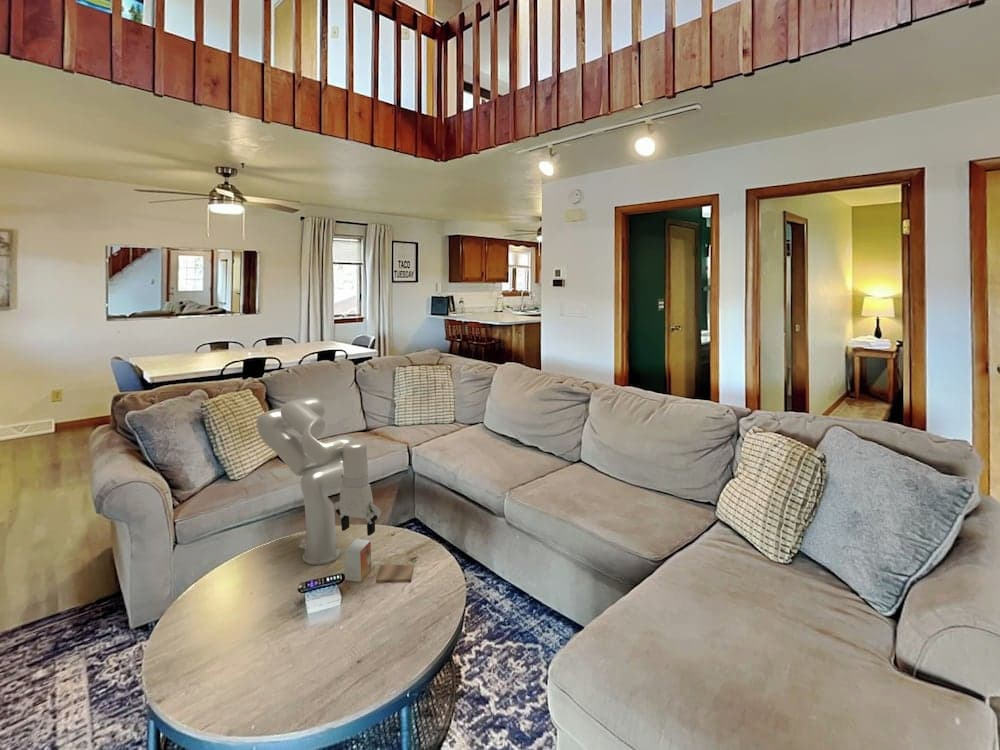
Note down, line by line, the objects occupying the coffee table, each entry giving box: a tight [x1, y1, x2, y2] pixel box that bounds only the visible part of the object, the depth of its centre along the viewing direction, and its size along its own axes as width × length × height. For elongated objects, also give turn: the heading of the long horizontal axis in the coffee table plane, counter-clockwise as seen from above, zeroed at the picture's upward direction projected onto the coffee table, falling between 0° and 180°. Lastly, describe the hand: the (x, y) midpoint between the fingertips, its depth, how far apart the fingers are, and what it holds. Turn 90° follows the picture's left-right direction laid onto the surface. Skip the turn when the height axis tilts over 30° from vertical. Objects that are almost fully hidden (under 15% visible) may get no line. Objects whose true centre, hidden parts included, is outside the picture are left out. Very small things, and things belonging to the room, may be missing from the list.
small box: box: [343, 538, 372, 583], centre depth 171 cm, size 8×6×10 cm
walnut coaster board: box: [375, 564, 415, 584], centre depth 173 cm, size 11×9×1 cm
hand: (358, 531), depth 169 cm, fingers open, 9 cm apart
